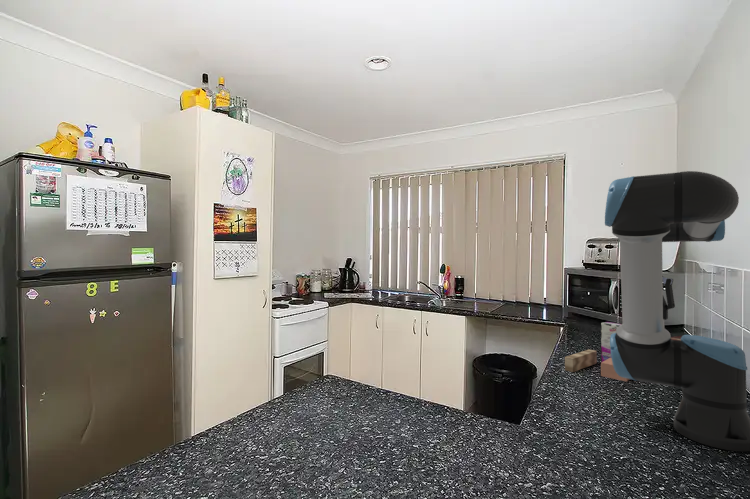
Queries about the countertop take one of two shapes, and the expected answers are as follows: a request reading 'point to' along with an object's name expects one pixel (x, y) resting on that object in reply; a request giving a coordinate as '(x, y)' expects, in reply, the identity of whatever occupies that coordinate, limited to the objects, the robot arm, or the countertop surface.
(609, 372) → the block
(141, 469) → the countertop surface
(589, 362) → the board
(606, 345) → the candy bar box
